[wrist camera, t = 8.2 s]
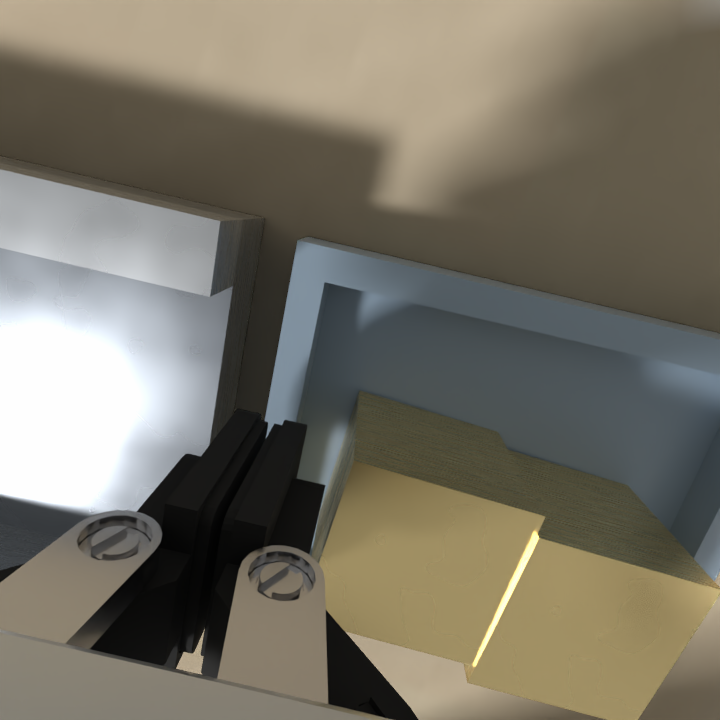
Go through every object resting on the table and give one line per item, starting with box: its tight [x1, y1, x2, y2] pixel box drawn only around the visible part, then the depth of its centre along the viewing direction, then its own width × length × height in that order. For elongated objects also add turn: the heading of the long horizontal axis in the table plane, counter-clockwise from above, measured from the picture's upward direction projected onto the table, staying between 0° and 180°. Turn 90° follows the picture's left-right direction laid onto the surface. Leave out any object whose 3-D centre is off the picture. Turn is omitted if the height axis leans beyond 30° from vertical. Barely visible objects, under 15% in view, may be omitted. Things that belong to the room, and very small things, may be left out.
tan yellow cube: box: [464, 450, 720, 720], centre depth 13 cm, size 4×4×4 cm
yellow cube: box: [311, 390, 546, 666], centre depth 12 cm, size 4×4×4 cm
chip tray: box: [265, 237, 720, 701], centre depth 14 cm, size 13×11×2 cm
